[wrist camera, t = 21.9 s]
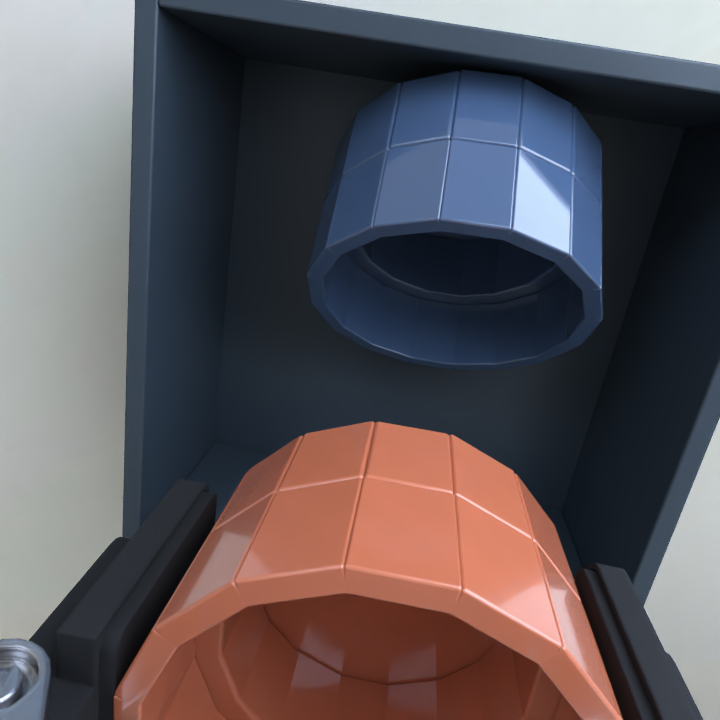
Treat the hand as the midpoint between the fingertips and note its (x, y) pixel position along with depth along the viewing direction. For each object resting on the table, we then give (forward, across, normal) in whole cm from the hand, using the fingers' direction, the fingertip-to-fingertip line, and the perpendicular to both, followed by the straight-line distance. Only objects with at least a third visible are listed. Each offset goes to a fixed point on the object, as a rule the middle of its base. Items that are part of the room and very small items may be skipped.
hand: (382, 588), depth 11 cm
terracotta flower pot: (+1, 0, 0) cm, 1 cm away
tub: (+10, 0, -3) cm, 11 cm away
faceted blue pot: (+8, 0, -8) cm, 11 cm away
